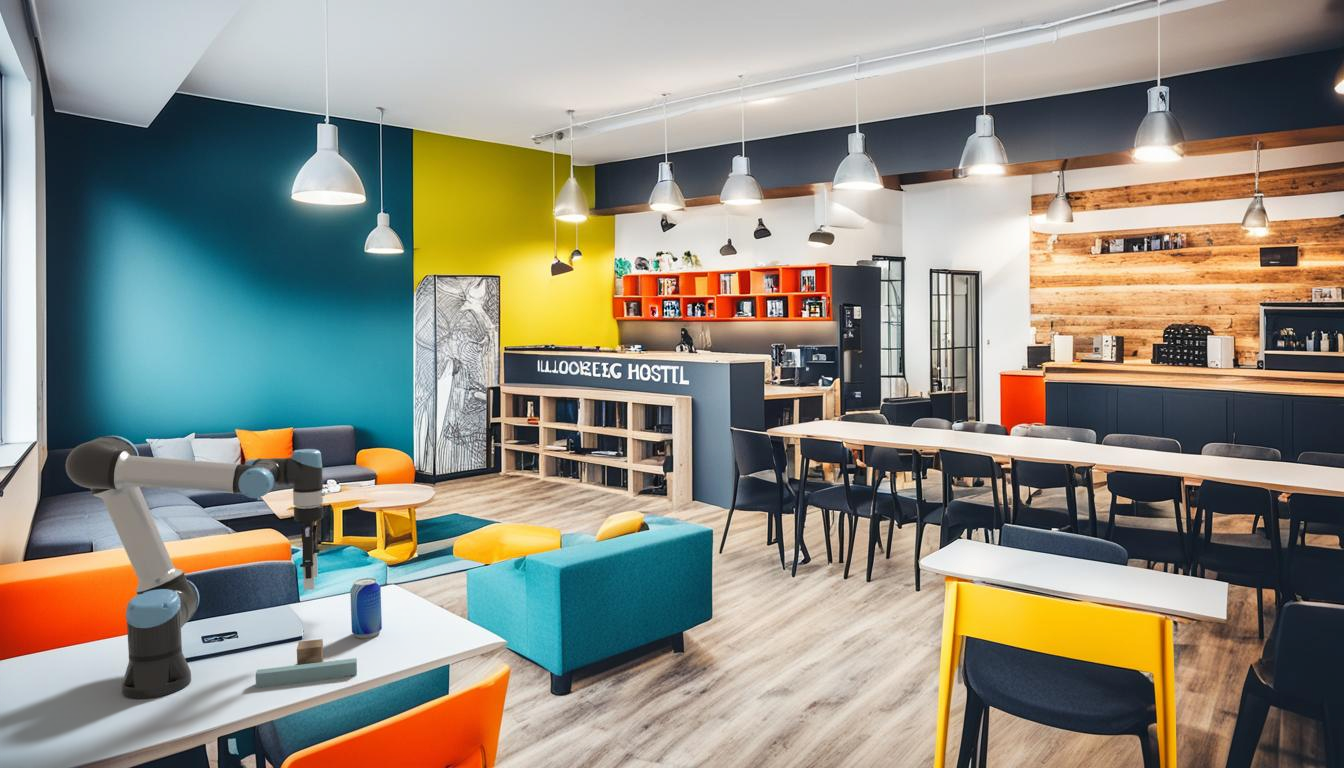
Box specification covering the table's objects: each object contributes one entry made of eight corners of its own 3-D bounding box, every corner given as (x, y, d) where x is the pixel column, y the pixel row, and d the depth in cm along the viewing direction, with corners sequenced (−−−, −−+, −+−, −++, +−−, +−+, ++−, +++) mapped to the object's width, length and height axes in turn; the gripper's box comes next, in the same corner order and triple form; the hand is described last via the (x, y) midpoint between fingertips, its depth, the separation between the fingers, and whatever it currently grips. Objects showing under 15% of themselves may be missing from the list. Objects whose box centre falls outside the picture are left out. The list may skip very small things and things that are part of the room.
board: (256, 687, 221) (255, 674, 221) (257, 683, 224) (257, 669, 224) (356, 675, 229) (356, 662, 228) (357, 670, 232) (356, 658, 231)
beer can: (362, 641, 253) (360, 587, 252) (346, 635, 258) (344, 582, 257) (387, 633, 259) (386, 580, 258) (371, 627, 265) (369, 575, 263)
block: (297, 671, 232) (296, 649, 231) (299, 663, 237) (298, 641, 237) (321, 668, 233) (321, 646, 233) (323, 660, 239) (322, 639, 239)
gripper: (320, 513, 231) (322, 594, 232) (325, 496, 253) (327, 570, 255) (289, 515, 228) (291, 597, 230) (297, 498, 251) (300, 572, 253)
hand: (310, 583), depth 242 cm, fingers open, 11 cm apart
